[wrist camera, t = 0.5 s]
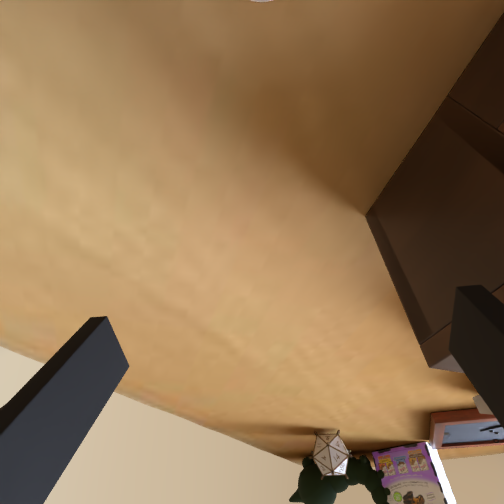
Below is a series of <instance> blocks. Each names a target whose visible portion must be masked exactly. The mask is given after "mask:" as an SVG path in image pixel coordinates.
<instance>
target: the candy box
mask: <svg viewBox="0 0 504 504" xmlns="http://www.w3.org/2000/svg"><path fill="white" fill-rule="evenodd" d="M372 456H373V460H374V464H375V468H376V472H378V470H382V471H383V472H384V474H385V475H384V478H383V479H381V481H382V486H383V487H384V488H388V489H390V492H391V493H390V495H388V496H387V498H388V499H387V502H388V503H389V504H457V503H456V501H455V498H454V496H453V493H452V490H451V487H450V485H449V482H448V479H447V477H446V475H445V471H444V469H443V466H442V463H441V461H440V458H439V455H438V453H437V450H436V449H435V450H432V447H431V445H430V444H429V443H427V442H421V443H416V444H411V445H406V446H401V447H395V448H391V449H386V450H381V451H376V452H372Z"/></svg>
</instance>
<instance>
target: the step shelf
mask: <svg viewBox="0 0 504 504" xmlns="http://www.w3.org/2000/svg"><path fill="white" fill-rule="evenodd" d="M365 217H366V220H367V222H368V225H369V227H370V229H371V232H372V234H373V236H374V239H375V241H376V244H377V246H378V248H379V251H380V253H381V255H382V258H383V260H384V262H385V265H386V267H387V270H388V272H389V274H390V277H391V279H392V281H393V284H394V286H395V289H396V291H397V293H398V296H399V298H400V300H401V303H402V305H403V307H404V310H405V312H406V315H407V317H408V319H409V322H410V324H411V326H412V329H413V331H414V334H415V336H416V338H417V341H418V343H419V345H420V348H421V350H422V352H423V355H424V357H425V359H426V362H427V364H428V367H429V368H434V369H441V370H447V371H454V372H460V373H464V371H463V370H462V369H461V367H460V366H459V364H458V363H457V361H456V360H455V358H454V357H453V356H452V354H451V353H450V351H449V350H448V348H449V340H450V332H451V324H452V315H453V307H454V299H455V291H456V287H458V286H470V285H482V286H483V287H485V288H486V289H487V290H488V291H489V292H490V293H492V294H493V295H494V296H495V297H496V298H497V299H499V300H500V301H501V302H502V303H503V304H504V14H503V15H502V16H501V18H500V19H499V21H498V22H497V24H496V25H495V27H494V28H493V30H492V31H491V33H490V34H489V35H488V37H487V38H486V40H485V41H484V43H483V44H482V46H481V47H480V49H479V50H478V52H477V53H476V55H475V56H474V57H473V59H472V60H471V62H470V63H469V65H468V66H467V68H466V69H465V71H464V72H463V74H462V75H461V77H460V78H459V79H458V81H457V82H456V84H455V85H454V87H453V88H452V90H451V91H450V93H449V94H448V96H447V98H446V99H445V100H444V102H443V103H442V105H441V106H440V108H439V109H438V111H437V112H436V114H435V115H434V117H433V118H432V119H431V121H430V122H429V124H428V125H427V127H426V128H425V130H424V131H423V133H422V134H421V136H420V137H419V139H418V140H417V141H416V143H415V144H414V146H413V147H412V149H411V150H410V152H409V153H408V155H407V156H406V158H405V159H404V160H403V162H402V163H401V165H400V166H399V168H398V169H397V171H396V172H395V174H394V175H393V177H392V178H391V180H390V181H389V182H388V184H387V185H386V187H385V188H384V190H383V191H382V193H381V194H380V196H379V197H378V199H377V200H376V201H375V203H374V204H373V206H372V207H371V209H370V210H369V212H368V213H367V215H366V216H365Z"/></svg>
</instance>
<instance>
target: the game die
mask: <svg viewBox="0 0 504 504" xmlns="http://www.w3.org/2000/svg"><path fill="white" fill-rule="evenodd" d="M314 433H315V435H316V441H315V446H314V451H312V452H311V453H312V454H313V456H310V457H309V458H310V459H314V461H315V463H316V464H317V466H318V468H319V470H320V471H321V473H322V476H321V480H322V479H323V478H324V476H333V475H345V477H346V478H347V479H348V476H347V475H346V469H347V464H348V458H349V457H350V458H351V457H352V455H351V454H348V452H351V450H350V449H349V450H347V448H346V447H345V445H344V443H343V441H342V439H341V438H340V436H339V433H340V430H338V432H337V434H320V435H318V434H317V432H315V431H314Z"/></svg>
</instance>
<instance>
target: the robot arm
mask: <svg viewBox="0 0 504 504" xmlns="http://www.w3.org/2000/svg"><path fill="white" fill-rule="evenodd" d="M448 350H449V351H450V353H451V354H452V356H453V357H454V358H455V360H456V361H457V363H458V364H459V366H460V367H461V369H462V370H463V371H464V373H465V374H466V376H467V377H468V379H469V380H470V381H471V383H472V384H473V386H474V387H475V389H476V390H477V392H478V393H479V394H480V396H481V397H482V399H483V400H484V402H485V403H486V404H487V406H488V407H489V409H490V410H491V412H492V413H493V415H494V416H495V417H496V419H497V420H498V422H499V423H500V425H501V426H502V428H503V429H504V304H503V303H502V302H501V301H500V300H499V299H497V298H496V297H495V296H494V295H493V294H492V293H490V292H489V291H488V290H487V289H486V288H485V287H483V286H482V285H470V286H458V287H456V291H455V299H454V307H453V315H452V324H451V332H450V340H449V348H448ZM128 368H129V364H128V362H127V360H126V358H125V355H124V353H123V351H122V349H121V346H120V344H119V342H118V340H117V337H116V335H115V333H114V331H113V329H112V326H111V324H110V322H109V320H108V317H107V316H103V317H91V318H89V320H88V321H87V322H86V323H85V324H84V325H83V326H82V327H81V328H80V329H79V330H78V331H77V332H76V333H75V334H74V335H73V336H72V337H71V338H70V339H69V340H68V341H67V342H66V343H65V344H64V345H63V346H62V347H61V348H60V349H59V350H58V351H57V352H56V353H55V354H54V356H53V357H52V358H51V359H50V360H49V361H48V362H47V363H46V364H45V365H44V366H43V367H42V368H41V369H40V370H39V371H38V372H37V373H36V374H35V375H34V376H33V377H32V378H31V379H30V380H29V381H28V382H27V383H26V385H24V387H22V389H20V390H19V392H18V393H17V394H16V395H15V396H14V397H13V398H12V399H11V400H10V401H9V402H8V403H7V404H5V405H4V406H3V407H1V408H0V504H43V503H44V502H45V500H46V499H47V497H48V495H49V494H50V492H51V491H52V489H53V487H54V486H55V484H56V482H57V481H58V479H59V477H60V476H61V475H62V473H63V471H64V470H65V468H66V467H67V465H68V463H69V462H70V460H71V459H72V457H73V455H74V454H75V452H76V451H77V449H78V447H79V446H80V444H81V443H82V441H83V440H84V438H85V436H86V435H87V433H88V431H89V430H90V428H91V427H92V425H93V424H94V422H95V420H96V419H97V417H98V416H99V414H100V412H101V411H102V409H103V408H104V406H105V404H106V403H107V401H108V400H109V398H110V396H111V395H112V393H113V392H114V390H115V388H116V387H117V385H118V384H119V382H120V380H121V379H122V377H123V376H124V374H125V373H126V371H127V369H128Z"/></svg>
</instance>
